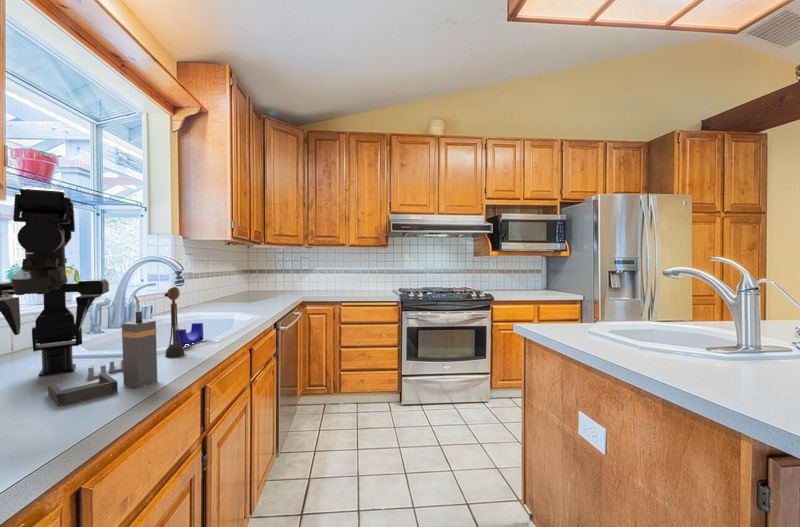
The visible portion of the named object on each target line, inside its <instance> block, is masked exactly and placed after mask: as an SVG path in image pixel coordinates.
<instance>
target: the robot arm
mask: <svg viewBox="0 0 800 527" xmlns="http://www.w3.org/2000/svg"><path fill="white" fill-rule="evenodd" d="M71 198H72V197H70V196H66V193H65V191H64V190H59V189H48V188H46V189H45V188H32V187H31V188H30V187H20V189H19V193H18V192H15V193H14V202H13V206H14V207H13V217H12V218H13V222H15V223H25V224H24V225H22V226H21V228H20V229H19V230H18V233H17V236H16V237H17V241H18V243H19V245H20V246H21V247H22V248H23V249H24V257H25V258H22V263H21V264H22V266H21V269H19V270H17V271H16V273H14V274H13V275H12V276H11V277H10V280H11V281H0V313H1V314H2V316H3V318H4V319H5V320H6V322H7V324H8V326H9V327H10V329H11V332H12V333H13V335H14V336H18V335H20V334H21V326H22V325H21V310H20V309H21V308H20V297H19V296H24V295H33V294H34V295H35V294H37V295H43V309H42V311H41V312H40V313H39V315H38V316H37V318H35V325H33V326H32V327H31V339H32V340H31V341H32V352H37V351H41V370H40V371H39V372H38V377H43V376H44V377H45V376H53V375H58V374H64V373H70V372H71V373H72V372H75V370H76V366H77V365H76V364H75V363H74V362H73V361H74V360H73V356H74V355H73V347H79V346H80V345H83V323H84V322H85V321H84V320H85V318H86V316H87V314H88V311H89V309H90V307H91V305H92V304H93V303H94V301H95V299H97V298H100V297H102V295H104V294H106V293H109V292H110V284H109V281H108V280H107V279H105V278H102V279H101V278H97V279H95V278H93V279H82V280H79V281H77V283H73V282H72V283H71V282H70V283H68V277H67V272H66V271H67V269H66V264H67V263H68V262H67V260H68V259H67V257H66V247H67V245H68V244H69V242H70V241H71V240H72V239H73V238H72V233H75V231H76V227H75V226H76V225H75V224H76V222H75V210H74V202H73V201H72V200H71ZM66 293H79V294H80V296H76V297H75V300H76V312H75V315H74V313H73V312H72V311H71V310H70V309H69V308H68V306H67V298H66V297H67V296H66ZM14 295H15V296H14Z"/></svg>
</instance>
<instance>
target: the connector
mask: <svg viewBox="0 0 800 527" xmlns="http://www.w3.org/2000/svg"><path fill="white" fill-rule="evenodd" d="M156 323H157V322H156V320H149V319H148V320H146V319H145V320H144V319H143V311H142V310H140V311H138V310H137V311H135V320H134V321H128V322H122V323H121V338H122V341H121V342H122V358H123V371H122V372H123V373H122V375H123V376H122V377H123V386H124V385H125V386H124V387H129V386H132V388H136V387H139V388H142V387H144V385H145V386H147V384H148V385H151V384H153V382H154V383H156V382H158V357H157V356H158V355H157V352H158V351H157V324H156ZM150 383H151V384H150ZM141 386H142V387H141Z"/></svg>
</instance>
